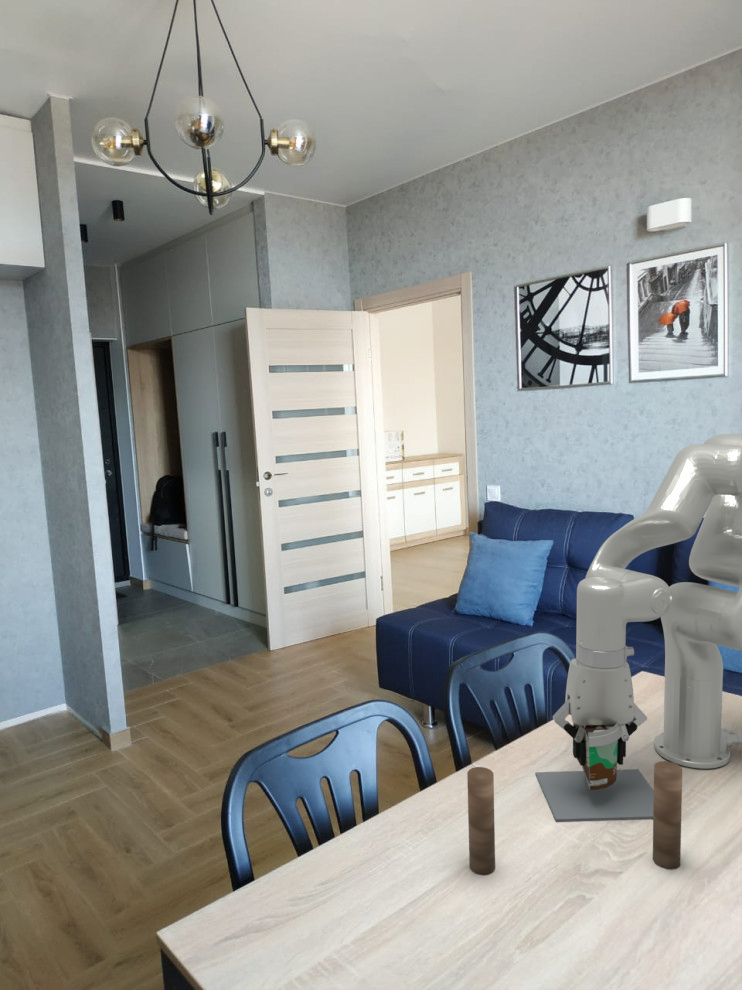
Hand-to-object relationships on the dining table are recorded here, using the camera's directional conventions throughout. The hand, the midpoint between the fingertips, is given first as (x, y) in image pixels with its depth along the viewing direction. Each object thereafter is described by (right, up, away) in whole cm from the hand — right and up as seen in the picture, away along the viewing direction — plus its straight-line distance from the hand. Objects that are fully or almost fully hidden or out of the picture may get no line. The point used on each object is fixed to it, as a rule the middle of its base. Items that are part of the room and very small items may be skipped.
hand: (599, 760), depth 115 cm
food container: (+1, -3, 0) cm, 3 cm away
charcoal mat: (0, -6, +1) cm, 6 cm away
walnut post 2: (+4, -8, -16) cm, 19 cm away
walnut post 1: (-22, -9, -16) cm, 28 cm away
